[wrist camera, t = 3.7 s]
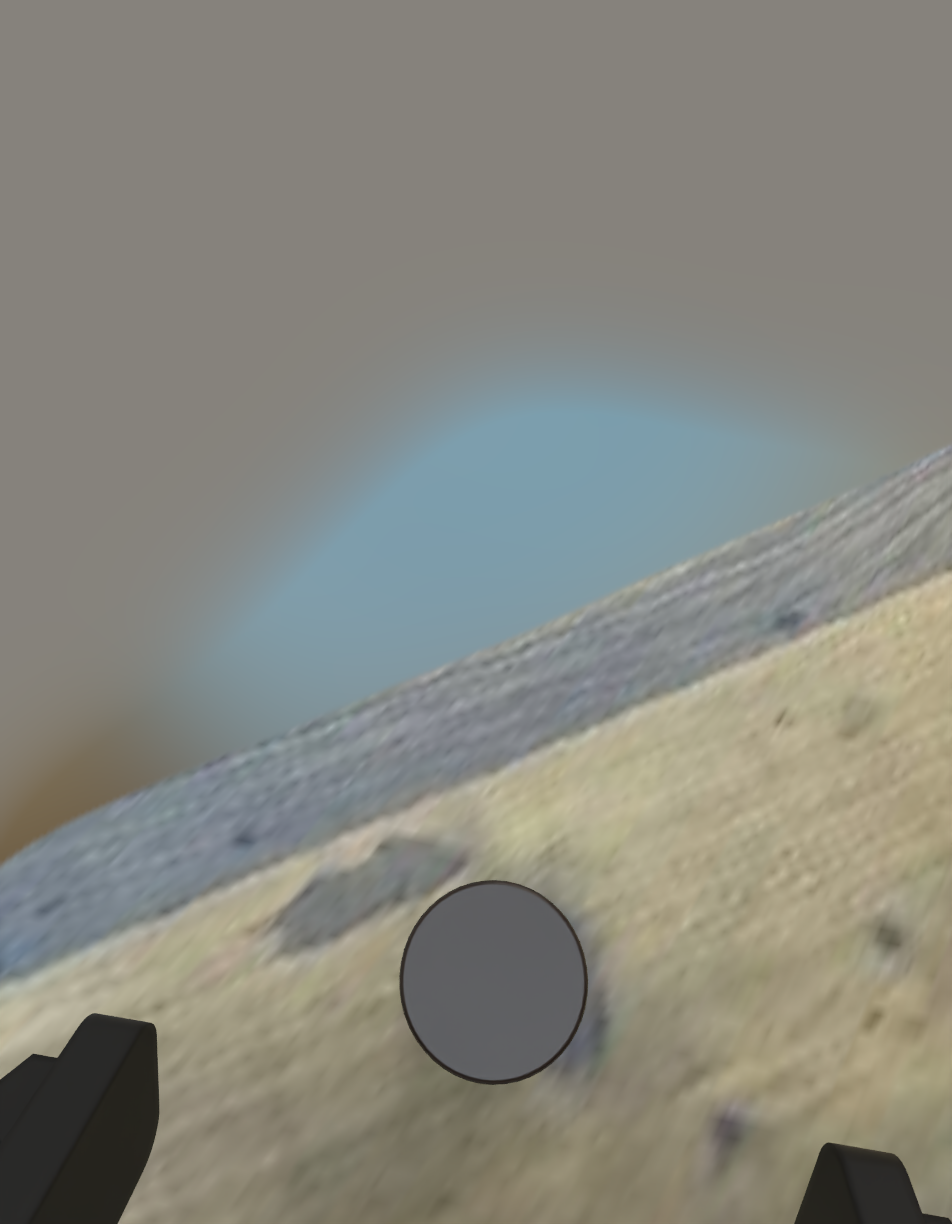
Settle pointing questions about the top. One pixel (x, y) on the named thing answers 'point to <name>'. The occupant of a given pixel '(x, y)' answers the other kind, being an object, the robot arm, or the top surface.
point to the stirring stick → (493, 982)
